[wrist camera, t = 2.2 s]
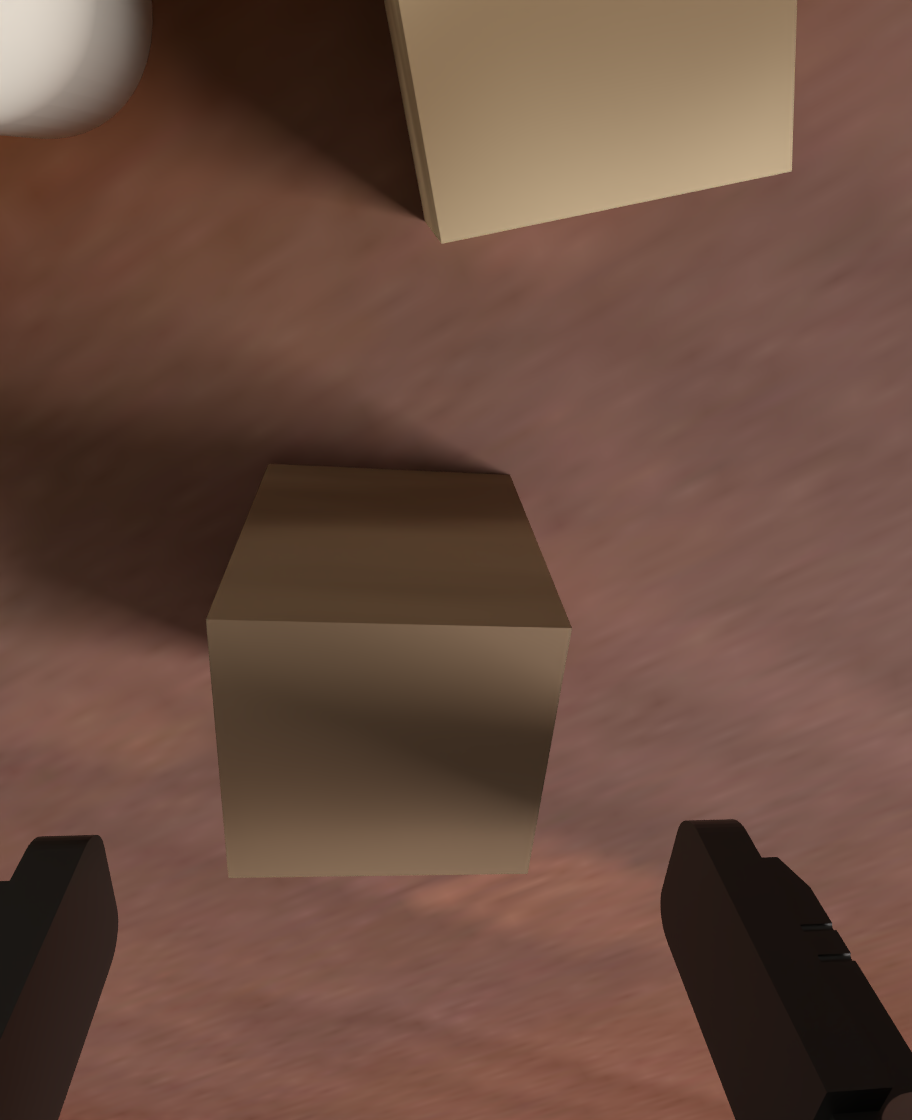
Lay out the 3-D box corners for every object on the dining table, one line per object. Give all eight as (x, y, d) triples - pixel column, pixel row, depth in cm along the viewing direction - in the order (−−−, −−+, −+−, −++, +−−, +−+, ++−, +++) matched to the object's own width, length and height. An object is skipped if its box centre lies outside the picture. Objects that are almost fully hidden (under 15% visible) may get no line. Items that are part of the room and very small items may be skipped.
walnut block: (268, 462, 15) (205, 620, 10) (509, 473, 16) (571, 628, 10) (276, 663, 17) (228, 878, 12) (486, 666, 18) (527, 873, 13)
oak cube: (365, -101, 11) (354, -246, 7) (657, -163, 11) (807, -342, 7) (424, 220, 13) (440, 243, 9) (670, 169, 13) (791, 171, 9)
